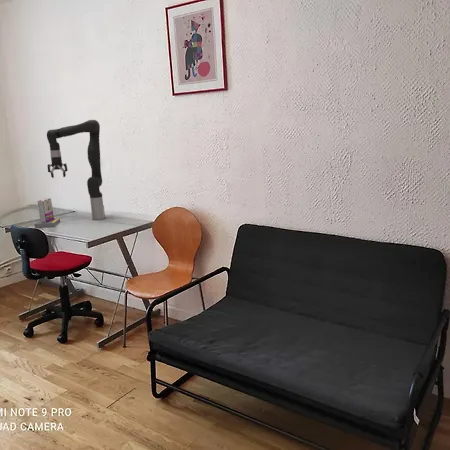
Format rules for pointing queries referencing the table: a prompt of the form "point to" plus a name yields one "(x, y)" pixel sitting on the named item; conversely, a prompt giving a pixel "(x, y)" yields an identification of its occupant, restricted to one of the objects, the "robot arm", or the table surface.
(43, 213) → the candy bar box
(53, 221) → the loading dock
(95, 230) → the table surface
